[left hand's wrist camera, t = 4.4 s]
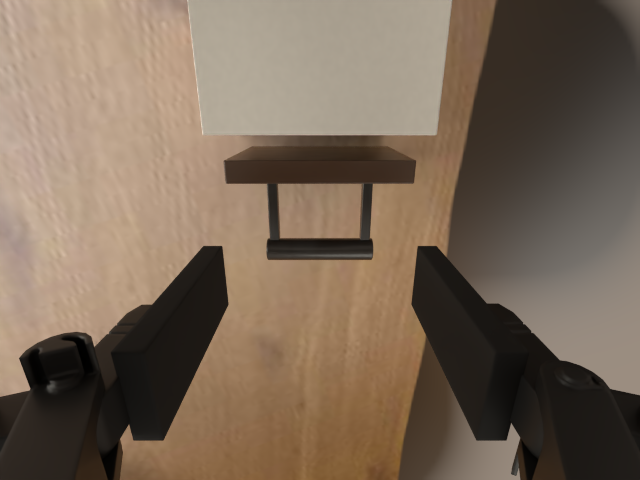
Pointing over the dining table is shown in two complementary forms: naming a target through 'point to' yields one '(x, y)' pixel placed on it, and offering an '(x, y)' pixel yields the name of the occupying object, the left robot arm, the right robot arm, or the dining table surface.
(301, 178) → the drawer
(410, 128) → the cabinet
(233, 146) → the dining table surface
